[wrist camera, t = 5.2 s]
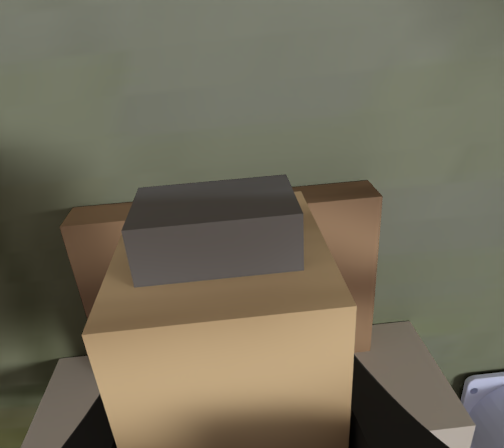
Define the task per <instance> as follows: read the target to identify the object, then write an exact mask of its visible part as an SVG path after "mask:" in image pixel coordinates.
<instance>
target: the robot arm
mask: <svg viewBox="0 0 504 448" xmlns="http://www.w3.org/2000/svg"><path fill="white" fill-rule="evenodd" d="M461 403H462V404H463V406H464V407H465V409H466V411H467V412H468V414H469V415H470V417H471V419H472V420H473V422H474V423H475V425H476V427H475V431H474V435H473V439H472V442H471V446H470V448H504V372H498V373H489V374H480V375H472V376H469V377H468V378H467V379H466V380H465V383H464V387H463V392H462V396H461ZM61 448H117V446H116V442H115V439H114V436H113V433H112V430H111V427H110V423H109V420H108V417H107V414H106V411H105V408H104V404H103V401H102V398H101V395H100V394H99V396H98V397H97V399H96V400H95V402H94V403H93V405H92V406H91V407H90V409H89V410H88V412H87V413H86V415H85V416H84V418H83V419H82V420H81V422H80V423H79V424H78V426H77V427H76V428H75V430H74V431H73V433H72V434H71V435H70V437H69V438H68V439H67V441H66V442H65V443H64V445H63V446H62V447H61ZM349 448H449V447H448V446H447V445H446V444H445V443H443V442H442V441H441V440H440V439H438V438H437V437H436V436H435V435H434V434H432V433H431V432H430V431H429V430H428V429H427V428H425V427H424V426H423V425H422V424H421V423H420V422H419V421H417V420H416V419H415V418H414V417H413V416H412V415H411V414H410V413H409V412H408V411H407V410H406V409H404V408H403V407H402V406H401V405H400V404H399V403H398V402H397V401H396V400H395V399H394V398H393V397H392V396H391V395H390V394H389V393H388V392H387V391H386V389H385V388H384V387H383V386H382V385H381V384H380V383H379V382H378V381H377V380H376V379H375V378H374V377H373V375H372V374H371V373H370V372H369V371H368V370H367V369H366V368H365V367H364V365H363V364H362V363H361V362H360V361H359V359H358V358H357V357H356V356H355V355H354V363H353V380H352V398H351V415H350V432H349Z"/></svg>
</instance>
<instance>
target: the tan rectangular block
mask: <svg viewBox="0 0 504 448" xmlns="http://www.w3.org/2000/svg"><path fill="white" fill-rule="evenodd" d="M121 232H122V235H121V237H120V240H119V242H118V245H117V247H116V250H115V252H114V255H113V257H112V260H111V262H110V265H109V267H108V270H107V272H106V275H105V277H104V280H103V282H102V285H101V287H100V290H99V292H98V295H97V297H96V300H95V302H94V305H93V308H92V310H91V313H90V315H89V318H88V320H87V323H86V325H85V328H84V330H83V333H82V338H83V341H84V344H85V348H86V351H87V354H88V357H89V360H90V363H91V367H92V370H93V373H94V376H95V379H96V382H97V385H98V389H99V392H100V395H101V398H102V401H103V404H104V408H105V411H106V414H107V417H108V420H109V423H110V427H111V430H112V433H113V436H114V439H115V442H116V446H117V448H349V432H350V415H351V398H352V380H353V363H354V345H355V328H356V311H357V305H356V303H355V301H354V299H353V297H352V295H351V293H350V291H349V289H348V287H347V285H346V283H345V281H344V279H343V277H342V275H341V273H340V270H339V268H338V266H337V264H336V262H335V260H334V258H333V256H332V254H331V252H330V250H329V248H328V246H327V244H326V242H325V240H324V238H323V236H322V233H321V231H320V229H319V227H318V225H317V223H316V221H315V219H314V217H313V215H312V213H311V211H310V209H309V207H308V205H307V203H306V201H305V199H304V196H303V194H302V192H301V191H298V192H294V191H293V189H292V187H291V185H290V182H289V180H288V178H287V176H286V175H275V176H264V177H253V178H242V179H231V180H220V181H209V182H198V183H187V184H176V185H165V186H154V187H143V188H138V191H137V193H136V196H135V198H134V201H133V203H132V205H131V208H130V210H129V213H128V215H127V218H126V220H125V223H124V225H123V228H122V230H121Z"/></svg>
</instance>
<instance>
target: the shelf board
mask: <svg viewBox="0 0 504 448" xmlns="http://www.w3.org/2000/svg"><path fill="white" fill-rule="evenodd" d="M354 355H355V356H356V357H357V358H358V359H359V361H360V362H361V363H362V364H363V365H364V367H365V368H366V369H367V370H368V371H369V372H370V373H371V374H372V375H373V377H374V378H375V379H376V380H377V381H378V382H379V383H380V384H381V385H382V386H383V387H384V388H385V389H386V391H387V392H388V393H389V394H390V395H391V396H392V397H393V398H394V399H395V400H396V401H397V402H398V403H399V404H400V405H401V406H402V407H403V408H404V409H406V410H407V411H408V412H409V413H410V414H411V415H412V416H413V417H414V418H415V419H416V420H417V421H419V422H420V423H421V424H422V425H423V426H424V427H425V428H427V429H428V430H429V431H430V432H431V433H432V434H434V435H435V436H436V437H437V438H438V439H440V440H441V441H442V442H443V443H445V444H446V445H447V446H448V447H449V448H470V446H471V442H472V439H473V435H474V431H475V427H476V425H475V423H474V422H473V420H472V419H471V417H470V415H469V414H468V412H467V411H466V409H465V407H464V406H463V404H462V403H461V401H460V400H459V398H458V396H457V395H456V393H455V392H454V390H453V388H452V387H451V385H450V384H449V382H448V381H447V379H446V377H445V376H444V374H443V373H442V371H441V370H440V368H439V366H438V365H437V363H436V362H435V360H434V358H433V357H432V355H431V354H430V352H429V351H428V349H427V347H426V346H425V344H424V343H423V341H422V339H421V338H420V336H419V335H418V333H417V332H416V330H415V328H414V327H413V325H412V324H411V322H410V321H404V322H395V323H385V324H376V325H372V335H371V347H370V351H366V352H357V353H354ZM99 394H100V392H99V389H98V385H97V382H96V379H95V376H94V373H93V370H92V367H91V363H90V360H89V357H88V356H79V357H70V358H61V359H59V361H58V363H57V365H56V368H55V370H54V372H53V375H52V377H51V379H50V381H49V384H48V386H47V388H46V391H45V393H44V395H43V398H42V400H41V402H40V404H39V407H38V409H37V411H36V414H35V416H34V418H33V421H32V423H31V425H30V428H29V430H28V432H27V434H26V437H25V439H24V441H23V444H22V446H21V448H61V447H62V446H63V445H64V443H65V442H66V441H67V439H68V438H69V437H70V435H71V434H72V433H73V431H74V430H75V428H76V427H77V426H78V424H79V423H80V422H81V420H82V419H83V418H84V416H85V415H86V413H87V412H88V410H89V409H90V407H91V406H92V405H93V403H94V402H95V400H96V399H97V397H98V396H99Z"/></svg>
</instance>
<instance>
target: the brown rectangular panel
mask: <svg viewBox="0 0 504 448" xmlns="http://www.w3.org/2000/svg"><path fill="white" fill-rule="evenodd" d="M292 189H293V191H294V192H298V191H301V192H302V194H303V196H304V199H305V201H306V203H307V205H308V207H309V209H310V211H311V213H312V215H313V217H314V219H315V221H316V223H317V225H318V227H319V229H320V231H321V233H322V236H323V238H324V240H325V242H326V244H327V246H328V248H329V250H330V252H331V254H332V256H333V258H334V260H335V262H336V264H337V266H338V268H339V270H340V273H341V275H342V277H343V279H344V281H345V283H346V285H347V287H348V289H349V291H350V293H351V295H352V297H353V299H354V301H355V303H356V305H357V311H356V328H355V345H354V353H357V352H366V351H370V347H371V335H372V322H373V310H374V297H375V285H376V272H377V260H378V247H379V235H380V222H381V209H382V197H383V196H382V195H381V194H380V193H379V192H378V191H377V190H376V189H375V188H374V187H373V185H372V184H371V183H370V182H369V181H368V180H365V181H354V182H344V183H333V184H322V185H311V186H300V187H292ZM132 203H133V202H127V203H116V204H105V205H94V206H83V207H73V208H72V210H71V211H70V213H69V214H68V215H67V217H66V218H65V220H64V221H63V223H62V224H61V226H60V230H61V234H62V237H63V240H64V243H65V247H66V250H67V253H68V257H69V260H70V263H71V267H72V270H73V273H74V277H75V280H76V283H77V287H78V290H79V293H80V296H81V300H82V303H83V306H84V310H85V313H86V316H87V320H88V318H89V315H90V313H91V310H92V308H93V305H94V302H95V300H96V297H97V295H98V292H99V290H100V287H101V285H102V282H103V280H104V277H105V275H106V272H107V270H108V267H109V265H110V262H111V260H112V257H113V255H114V252H115V250H116V247H117V245H118V242H119V240H120V237H121V235H122V232H121V230H122V228H123V225H124V223H125V220H126V218H127V215H128V213H129V210H130V208H131V205H132Z"/></svg>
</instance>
